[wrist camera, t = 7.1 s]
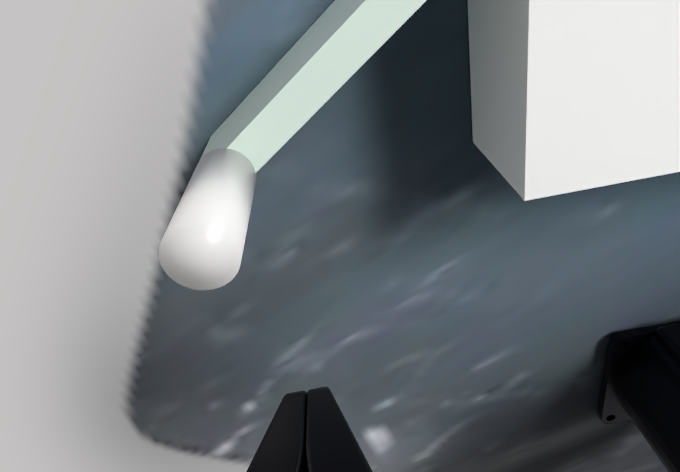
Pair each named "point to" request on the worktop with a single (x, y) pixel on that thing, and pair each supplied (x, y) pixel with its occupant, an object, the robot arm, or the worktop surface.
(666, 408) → the robot arm
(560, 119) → the instrument case
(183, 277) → the side door
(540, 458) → the worktop surface
